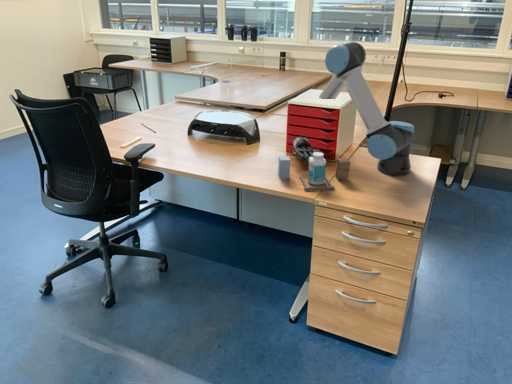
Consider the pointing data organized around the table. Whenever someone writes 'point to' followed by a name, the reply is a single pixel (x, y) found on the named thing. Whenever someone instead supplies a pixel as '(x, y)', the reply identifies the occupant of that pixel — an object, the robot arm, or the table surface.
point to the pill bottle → (317, 169)
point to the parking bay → (317, 187)
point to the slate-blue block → (284, 167)
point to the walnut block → (342, 169)
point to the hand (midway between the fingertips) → (313, 165)
